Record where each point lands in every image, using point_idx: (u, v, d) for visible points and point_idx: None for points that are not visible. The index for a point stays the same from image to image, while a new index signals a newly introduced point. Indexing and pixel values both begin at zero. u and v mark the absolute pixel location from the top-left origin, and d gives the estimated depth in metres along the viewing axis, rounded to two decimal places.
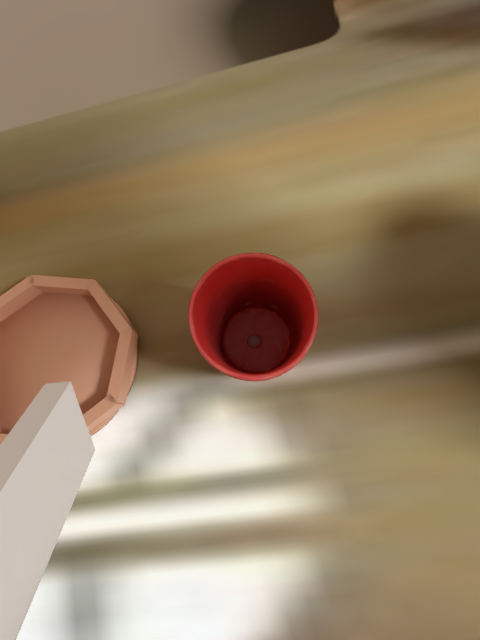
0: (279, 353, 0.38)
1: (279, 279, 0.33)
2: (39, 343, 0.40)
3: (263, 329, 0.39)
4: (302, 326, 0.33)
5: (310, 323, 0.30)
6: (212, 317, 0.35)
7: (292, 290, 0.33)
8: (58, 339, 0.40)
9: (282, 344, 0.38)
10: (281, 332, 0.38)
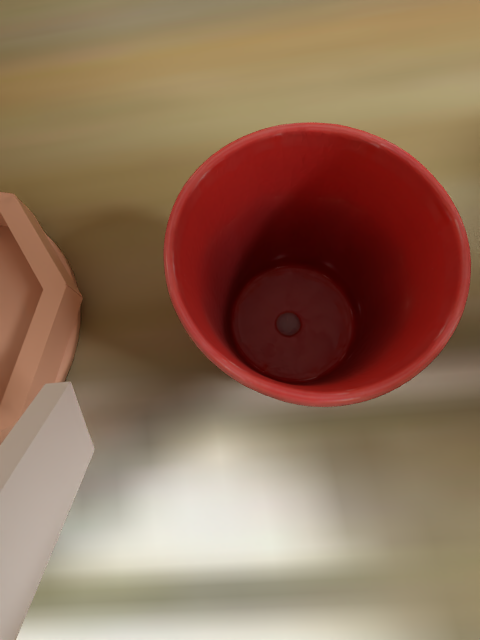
0: (333, 349, 0.21)
1: (362, 195, 0.16)
2: None
3: (305, 304, 0.21)
4: (402, 294, 0.16)
5: (444, 280, 0.13)
6: (216, 268, 0.18)
7: (388, 218, 0.16)
8: None
9: (339, 333, 0.21)
10: (338, 312, 0.21)
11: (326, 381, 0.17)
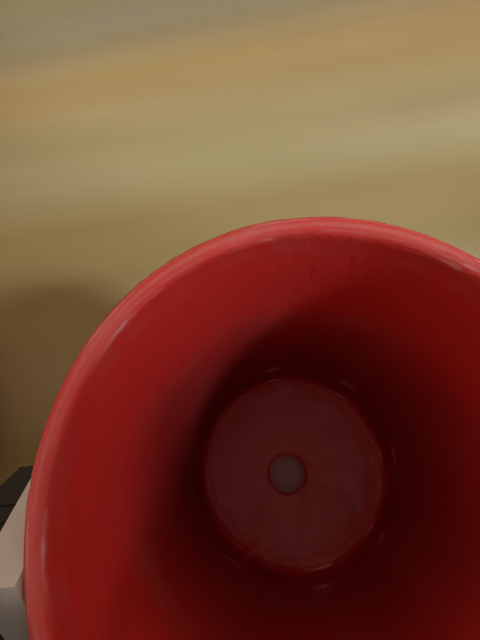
0: (355, 516, 0.14)
1: (413, 327, 0.09)
2: None
3: (312, 441, 0.15)
4: None
5: None
6: (170, 423, 0.11)
7: (461, 370, 0.09)
8: None
9: (363, 489, 0.14)
10: (360, 453, 0.14)
11: (352, 623, 0.10)
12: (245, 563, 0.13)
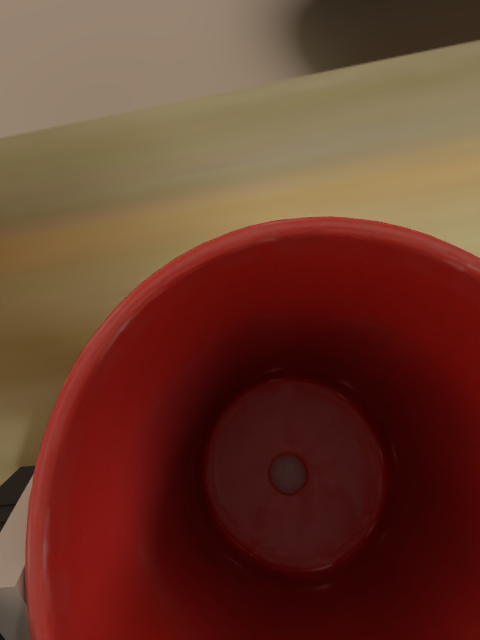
0: (356, 517, 0.14)
1: (415, 327, 0.09)
2: None
3: (313, 441, 0.15)
4: None
5: None
6: (172, 423, 0.11)
7: (463, 370, 0.09)
8: None
9: (364, 490, 0.14)
10: (361, 454, 0.14)
11: (353, 624, 0.10)
12: (246, 563, 0.13)
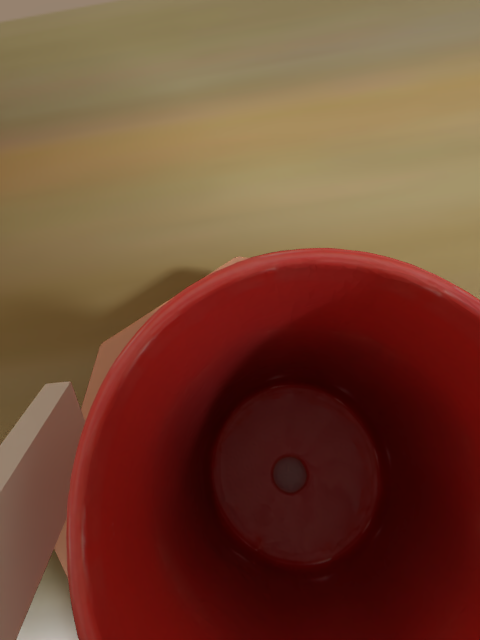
0: (353, 514, 0.15)
1: (403, 342, 0.10)
2: None
3: (312, 444, 0.16)
4: (469, 499, 0.10)
5: None
6: (183, 429, 0.12)
7: (446, 381, 0.10)
8: None
9: (361, 489, 0.15)
10: (358, 455, 0.15)
11: (350, 610, 0.11)
12: (251, 558, 0.14)
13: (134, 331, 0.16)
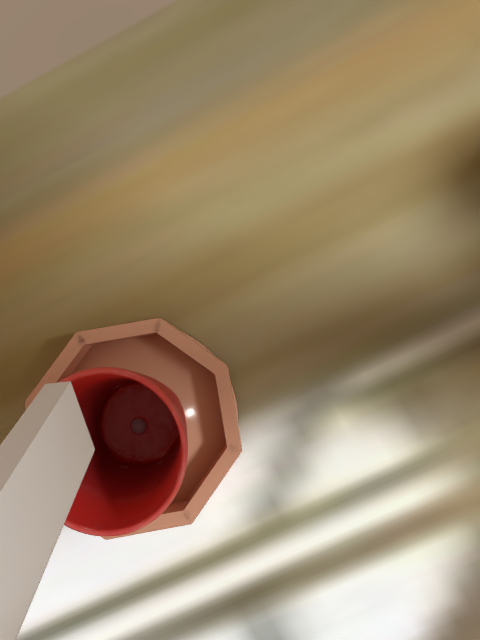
0: (170, 431, 0.33)
1: None
2: None
3: (145, 409, 0.33)
4: None
5: None
6: None
7: None
8: None
9: (171, 420, 0.33)
10: (167, 406, 0.33)
11: (161, 471, 0.30)
12: (130, 465, 0.32)
13: (38, 389, 0.32)
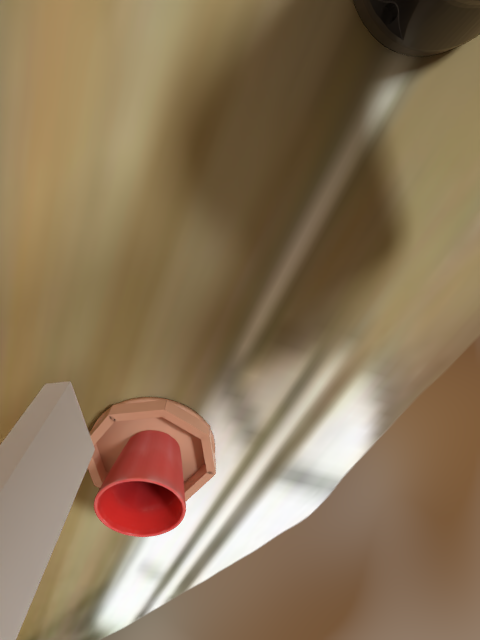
0: None
1: None
2: None
3: None
4: None
5: None
6: (125, 491, 0.50)
7: None
8: None
9: None
10: None
11: None
12: None
13: (94, 477, 0.52)
